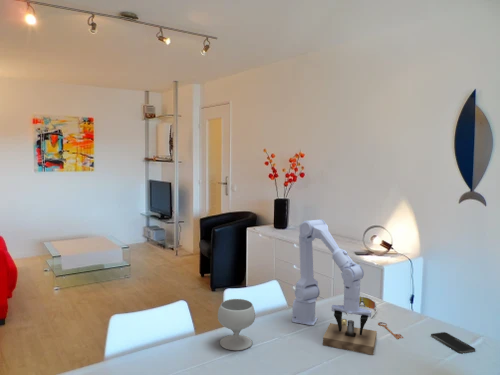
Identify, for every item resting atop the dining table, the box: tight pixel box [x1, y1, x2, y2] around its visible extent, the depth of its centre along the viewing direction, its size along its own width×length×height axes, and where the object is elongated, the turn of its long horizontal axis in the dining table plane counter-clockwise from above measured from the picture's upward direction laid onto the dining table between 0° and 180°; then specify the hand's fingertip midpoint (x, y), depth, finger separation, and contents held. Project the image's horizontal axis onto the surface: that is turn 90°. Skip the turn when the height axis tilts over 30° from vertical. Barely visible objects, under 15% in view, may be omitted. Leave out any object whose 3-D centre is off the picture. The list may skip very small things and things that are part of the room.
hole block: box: [322, 322, 378, 356], centre depth 149 cm, size 18×14×3 cm
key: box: [377, 321, 404, 340], centre depth 160 cm, size 6×1×15 cm
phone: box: [430, 331, 476, 355], centre depth 149 cm, size 8×1×15 cm
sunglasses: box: [345, 295, 378, 320], centre depth 180 cm, size 14×15×5 cm
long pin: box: [347, 319, 355, 337], centre depth 149 cm, size 2×2×8 cm
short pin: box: [342, 318, 348, 326], centre depth 160 cm, size 2×2×4 cm
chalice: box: [217, 298, 256, 351], centre depth 146 cm, size 14×14×15 cm
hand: (350, 332), depth 149 cm, fingers open, 7 cm apart
